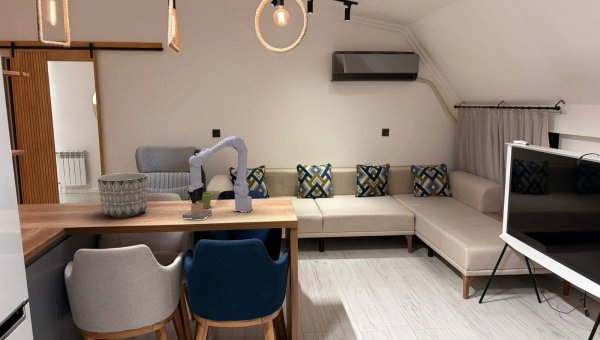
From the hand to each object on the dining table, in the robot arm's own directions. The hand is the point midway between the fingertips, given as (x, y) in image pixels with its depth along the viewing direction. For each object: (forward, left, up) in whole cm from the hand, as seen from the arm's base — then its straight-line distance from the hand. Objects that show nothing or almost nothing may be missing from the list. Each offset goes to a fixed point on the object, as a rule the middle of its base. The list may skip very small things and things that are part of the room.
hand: (197, 201), depth 244 cm
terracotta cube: (0, 0, -6) cm, 6 cm away
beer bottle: (+16, -39, -9) cm, 43 cm away
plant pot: (+4, -20, -9) cm, 22 cm away
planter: (+43, +2, -9) cm, 44 cm away
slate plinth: (0, 0, -9) cm, 9 cm away
